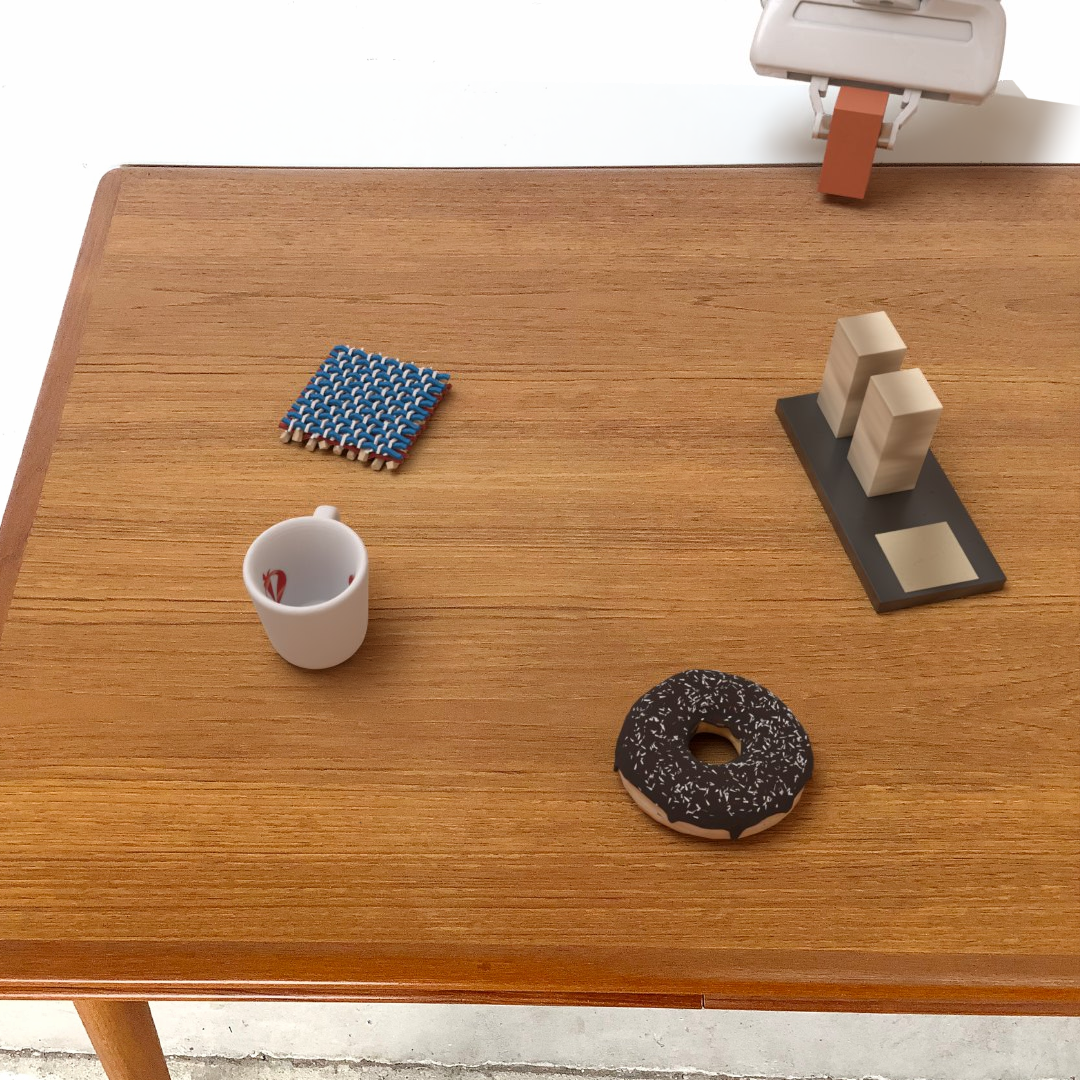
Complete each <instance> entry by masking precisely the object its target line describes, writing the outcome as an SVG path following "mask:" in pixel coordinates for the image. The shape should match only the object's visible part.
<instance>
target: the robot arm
mask: <svg viewBox="0 0 1080 1080" xmlns="http://www.w3.org/2000/svg"><path fill="white" fill-rule="evenodd" d="M1001 2H1002V0H759V3H760V6H761V9H762V12H761V15H760V17H759V21H758V23H757V26H756V28H755V32H754V34H753V38H752V42H751V46H750V48H749V62H750V65H751V67H752V69H753V71H754V72H755V74H756V75H757V76H761V77H767V78H774V79H780V80H781V79H782V80H789V81H795V82H802V83H808V84H809V88H808V97H809V101H810V104H811V107H812V110H813V114H814V117H815V119H814V123H813V127H812V131H811V139H812V140H821V141H827V140H828V135H829V130H830V125H831V120H832V115H833V114H828V113H825V109H824V105H823V102H822V99H824V98H826V97H827V93H828V90H829V86H831V87H837V88H840V87H841V86H848V87H856V88H863V89H870V90H877V91H884V92H889V93H890V94H889V95H894V96H895V95H896V96H902V99H901V102H900V109H901V110H902V111H901V112H900V113H899V114H898V115H897V116H896V118H894V120H893V121H892V122H891V123H889V122H883V123H882V125H881V129H880V134H879V137H878V141H877V146H876V149H881V150H885V151H894V148H895V143H896V141H897V137H898V133H899V131H900V130H901V129H903V127H904V126H905V125H906V124H907V123H908V122H909V120H910V119H912V117H913V116H914V115H915V114H916V113H917V111H918V107H919V104H920V100H921V99H922V100H923V99H925V100H930V101H937V102H944V103H952V104H959V105H965V106H972V107H980V106H982V105H984V104H986V102H987V101H989V100H991V98H992V97H993V96H994V94H995V92H996V89H997V86H998V82H999V79H1000V76H1001V70H1002V64H1003V60H1004V52H1005V47H1006V46H1005V45H1006V36H1007V15H1006V11H1005V9H1004V7H1003V5H1002V3H1001ZM821 98H822V99H821Z"/></svg>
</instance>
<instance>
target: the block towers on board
mask: <svg viewBox="0 0 1080 1080" xmlns="http://www.w3.org/2000/svg"><path fill="white" fill-rule="evenodd" d="M907 350H908V347H907V345H906V344H905V342H904V340H903V339H902V337H901V336H900V334H899V332H898V330H897V329H896V327H895V326H894V324H893V323H892V321H891V319H890V317H889V316H888V314H887V312H885V310H881V311H876V312H870V313H869V312H868V313H864V314H859V315H858V314H857V315H851V316H846V317H839V318H837V320H836V323H835V328H834V331H833V336H832V340H831V343H830V348H829V351H828V355H827V360H826V363H825V368H824V371H823V374H822V380H821V384H820V387H819V390H818V391H817V392H810V393H806V394H799V395H794V396H793V395H792V396H788V397H783V398H777V399H776V403H775V407H774V411H775V414H776V415H777V417H778V420H779V422H780V424H781V426H782V427H783V430H784V432H785V434H786V436H787V437H788V440H789V442H790V444H791V446H792V448H793V449H794V452H795V453H796V456H797V458H798V459H799V462H800V464H801V465H802V467H803V469H804V471H805V473H806V475H807V477H808V479H809V481H810V484H811V486H812V488H813V490H814V491H815V493H816V496H817V498H818V499H819V501H820V504H821V505H822V507H823V510H824V511H825V513H826V516H827V517H828V519H829V521H830V523H831V526H832V527H833V529H834V532H835V534H836V535H837V537H838V539H839V541H840V544H841V546H842V547H843V549H844V551H845V553H846V555H847V557H848V559H849V561H850V563H851V566H852V567H853V569H854V571H855V573H856V575H857V577H858V579H859V581H860V583H861V585H862V587H863V589H864V591H865V593H866V595H867V597H868V599H869V601H870V603H871V604H872V607H873V609H874V611H875V613H876V614H881V613H887V612H891V611H897V610H901V609H907V608H912V607H916V606H923V605H928V604H932V603H938V602H943V601H944V602H945V601H950V600H954V599H960V598H964V597H969V596H975V595H979V594H980V595H981V594H986V593H990V592H995V591H1000V590H1003V589H1004V586H1005V585H1006V582H1007V580H1008V579H1007V576H1006V575H1005V573H1004V571H1003V569H1002V568H1001V566H1000V564H999V562H998V561H997V559H996V557H995V555H994V553H993V552H992V550H991V549H990V547H989V545H988V544H987V542H986V540H985V538H984V537H983V535H982V534H981V531H980V530H979V529H978V527H977V525H976V523H975V522H974V520H973V518H972V517H971V515H970V514H969V512H968V510H967V508H966V507H965V505H964V503H963V502H962V500H961V498H960V496H959V494H958V493H957V491H956V489H955V487H954V486H953V485H952V483H951V481H950V480H949V478H948V476H947V475H946V473H945V470H944V469H943V468H942V465H941V464H940V463H939V461H938V459H937V457H936V456H935V454H934V452H933V451H932V449H931V447H930V445H931V443H932V440H933V437H934V435H935V431H936V430H937V427H938V423H939V421H940V418H941V415H942V412H943V410H944V406H943V404H942V403H941V401H940V399H939V398H938V396H937V395H936V393H935V391H934V389H933V388H932V386H931V384H930V383H929V381H928V380H927V378H926V377H925V375H924V373H923V372H922V370H921V369H920V368H921V367H914V368H909V369H903V370H901V368H902V366H903V365H902V364H903V361H904V359H905V355H906V352H907Z"/></svg>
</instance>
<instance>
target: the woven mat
mask: <svg viewBox="0 0 1080 1080" xmlns="http://www.w3.org/2000/svg"><path fill="white" fill-rule="evenodd" d="M364 350H365V348H364V347H361V348H358V349H357V348H356V347H351V348H350V345H349V344H346V345H344V344H339V345H335V346H334V347H333V349H332V348H331V350H330V351H329V353H328V356H326V358H325V359H324V361H323V362H322V363H321V364H320V365H319V368H318V369H317V370H316V372H315V373H314V376H312V377H311V378H310V379H309V381H308V383H307V385H306V386H305V387H304V388H303V390H302V391H301V392H300V393H299V396H298V397H297V399H296V400H295V402H293V403H292V405H291V408H289V409H288V410H287V413H286V414H285V416H283V418H282V419H281V421H280V422H279V423H278V425H277V426H278V428H280V429H282V430H283V432H282V433H281V435H280V437H279V440H280V441H281V442H282V444H285V443H288V442H289V441H290V439H291V440H292V441H295V442H302V440H303V441H304V440H308V439H309V440H308V442H307V443H306V445H305V449H306V450H307V451H309V452H313V451H314V450H315V448H316V446H317V445H318V448H319V450H328V449H329V448H330V447H332V446H333V448H332V449H333V450H332V452H333V453H334V454H336V455H338V456H341V454H342V452H343V451H344V449H347V450H348V452H347V454H346V459H348V460H350V461H353V460H354V459H355V458H356V457H357V460H359V461H362V462H368V460H369V459H372V458H374V460H373V461H372V462H371V465H370V467H371V469H372V470H374V471H380V469H381V468H382V466H383V465H384V463H385V465H386V468H387V470H390V471H391V470H394V469H397V468H398V466H399V465H400V464H401V465H402V464H403V463H404V459H405V460H407V459H408V458H409V456H410V455H409V453H408V451H409V452H411V451H412V449H413V443H414V444H415V443H416V442H417V440H418V438H417V436H420V435H421V434H422V431H425V430H426V428H427V425H426V423H427V422H429V421H430V419H431V416H433V415H434V413H435V410H434V409H437V408H438V407H439V402H442V401H443V399H444V395H446V394H447V392H448V390H451V389H452V387H453V385H452V383H451V382H449V380H450V378H451V374H448V373H445V372H444V373H441V372H440V371H438V370H434V366H429V368H427V367H425V366H422V367H417V366H416V365H415V364H416V362H414V361H411V362H409V363H407V362H408V361H402V362H399V361H400V358H398V357H396V359H395V358H390V357H389V356H388V355H386V356H384V357H383V356H382V352H378V353H377V354H375V353H376V352H370V353H366V352H364ZM448 382H449V383H448ZM357 455H358V456H357ZM385 461H386V462H385Z"/></svg>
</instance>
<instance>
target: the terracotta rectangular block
mask: <svg viewBox="0 0 1080 1080" xmlns="http://www.w3.org/2000/svg"><path fill="white" fill-rule="evenodd" d="M890 95H891V94H890V93H889V92H884V91H877V90H870V89H863V88H856V87H848V86H841V87H839V91H838V94H837V97H836V99H835V104H834V107H833V110H832V114H831V115H832V120H831V125H830V130H829V135H828V140H826V145H825V150H824V155H823V160H822V165H821V170H820V175H819V179H818V184H817V190H816V192H817V193H823V194H828V195H829V194H830V195H835V196H842V197H848V198H852V199H853V198H854V199H858V200H859V199H860V200H864V199H865V195H866V191H867V188H868V184H869V180H870V177H871V173H872V168H873V164H874V161H875V155H876V152H877V148H876V146H877V141H878V137H879V134H880V129H881V125H882V123H884V118H885V115H886V110H887V106H888V101H889V97H890Z"/></svg>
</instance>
